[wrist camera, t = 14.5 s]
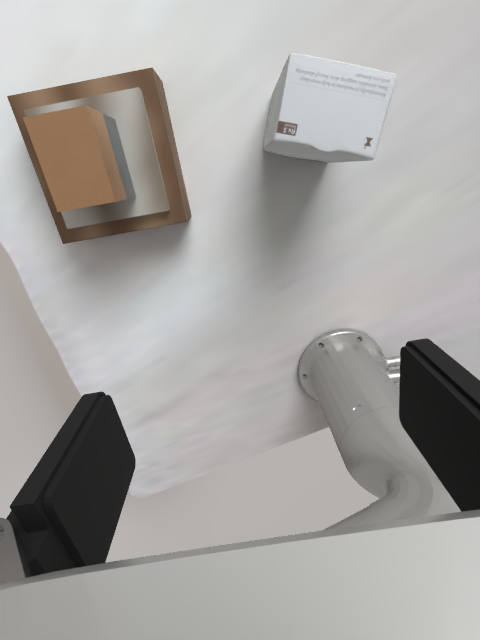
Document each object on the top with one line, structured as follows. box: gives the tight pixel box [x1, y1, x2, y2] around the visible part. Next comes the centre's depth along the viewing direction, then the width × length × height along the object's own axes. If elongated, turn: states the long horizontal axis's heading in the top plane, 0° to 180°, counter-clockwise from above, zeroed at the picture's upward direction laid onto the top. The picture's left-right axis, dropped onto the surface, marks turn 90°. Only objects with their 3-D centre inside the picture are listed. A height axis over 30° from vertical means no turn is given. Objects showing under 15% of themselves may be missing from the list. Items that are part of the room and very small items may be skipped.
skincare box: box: [263, 52, 397, 163], centre depth 31 cm, size 8×6×15 cm
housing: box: [23, 105, 136, 212], centre depth 30 cm, size 5×7×7 cm
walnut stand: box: [7, 68, 191, 244], centre depth 36 cm, size 14×14×6 cm
